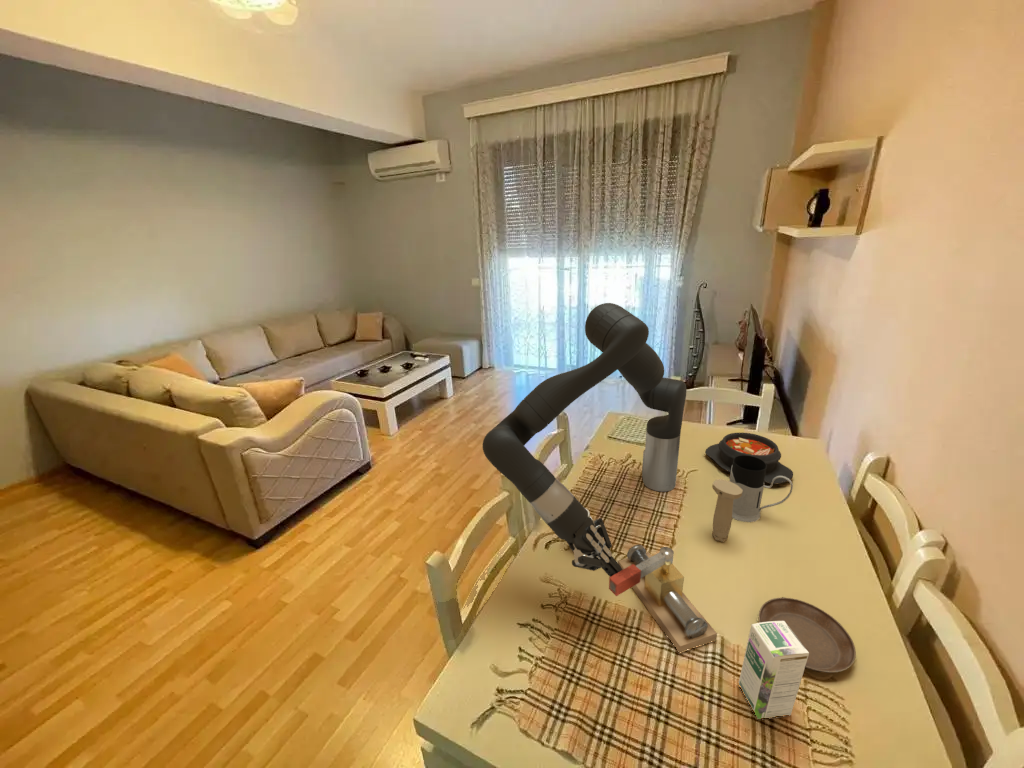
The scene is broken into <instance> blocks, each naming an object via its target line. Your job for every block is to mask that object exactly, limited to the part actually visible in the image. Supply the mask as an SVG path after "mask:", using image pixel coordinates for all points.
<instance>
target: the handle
mask: <svg viewBox="0 0 1024 768" xmlns="http://www.w3.org/2000/svg"><path fill="white" fill-rule="evenodd" d="M711 488H712V489H713V491H714V492H715V493H716V494H717V500H716V505H715V507H714V508H715V509H714V513H713V518H712V536H713V538H714V540H715V541H716V542H717V541H718V542H721V543H724V542H725V541H727V540H728V538H729V534H730V530H731V527H732V521H733V518H732V510H733V500H734V499H738V498H740V497H741V496H742V491H743V490H742V489H741V488H740V487H739V486H738V485H736V484H734V483H732V482H730V481H729V480H727V479H723V478H722V479H721V478H718V479H715V480H713V481H712V486H711Z"/></svg>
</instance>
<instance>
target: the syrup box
mask: <svg viewBox="0 0 1024 768" xmlns="http://www.w3.org/2000/svg"><path fill="white" fill-rule="evenodd" d="M808 656H809V652H808V651H807V650H806V649H805V648H804V646H803V645H802V643H801V642H800V641H799V639H798V638H797V637H796V635H795V634H794V633H793V631H792V630H791V629H790V628H789V626H788V625H787V624H786V622H785V621H769V622H761V623H760V622H757V623H752V624H750V629H749V634H748V639H747V642H746V647H745V653H744V657H743V661H742V666H741V671H740V675H739V679H738V683H739V685H740V686H741V688H742V690H743V692H744V694H745V696H746V698H747V699H748V701H749V703H750V705H751V707H752V709H753V710H754V712H755V714H754V716H755V715H756V716H757V718H758V719H761V718H769V717H775V716H783V715H789V716H791V715H792V712H793V709H794V706H795V702H796V699H797V696H798V692H799V688H800V685H801V681H802V679H803V675H804V672H805V666H806V662H807V659H808ZM746 698H745V699H746ZM751 707H750V708H751ZM752 709H751V710H752ZM756 716H755V717H756ZM783 717H784V716H783ZM757 718H756V719H757ZM758 719H757V720H758ZM769 719H770V718H769Z"/></svg>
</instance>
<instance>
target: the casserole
mask: <svg viewBox="0 0 1024 768" xmlns="http://www.w3.org/2000/svg"><path fill="white" fill-rule="evenodd" d="M705 455H706V456H708V457H709V458H710V459H712V460H713V461H714V463H716V464H717V465H718V467H720V468H721V469H723V470H725V471H726V472H728V473H730V474H731V467H732V465H733V459H734V458H735V457H736V456H740V455H748V456H753V457H756V458H759V459H761V460H762V461H764V462H765V463H766V465H767V468H766V473H765V479H764V483H767V484H771V482H772V480H773V478H774V477H776V476H785V477H787V478H789V479H790V480H792V478H793V477H794V472H793V470H791V468H789V467H787V466H785V464H783V463H781V462H780V460H781V459H782V453H781V451H780V450H779V447H778V445H777V444H776V442H774V441H773V440H772V439H769V438H768V437H765V436H763V435H759V434H756V433H750V432H731V433H728V434H726V435H725V436H724V437H723V438H722V439H721V440H720V441H719V442H718V443H714V444H712V445H710V446H709V447H707V448H706V449H705ZM786 482H789V481H788V480H786V479H784V478H777V479H775V480H774V482H773V485H778V484H785V483H786Z"/></svg>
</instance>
